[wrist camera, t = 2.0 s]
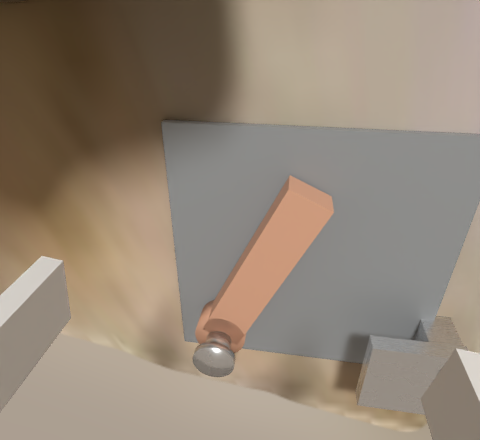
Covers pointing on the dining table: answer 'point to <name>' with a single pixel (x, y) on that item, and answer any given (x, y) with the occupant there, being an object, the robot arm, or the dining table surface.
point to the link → (266, 261)
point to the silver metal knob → (215, 355)
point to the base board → (332, 234)
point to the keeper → (405, 366)
